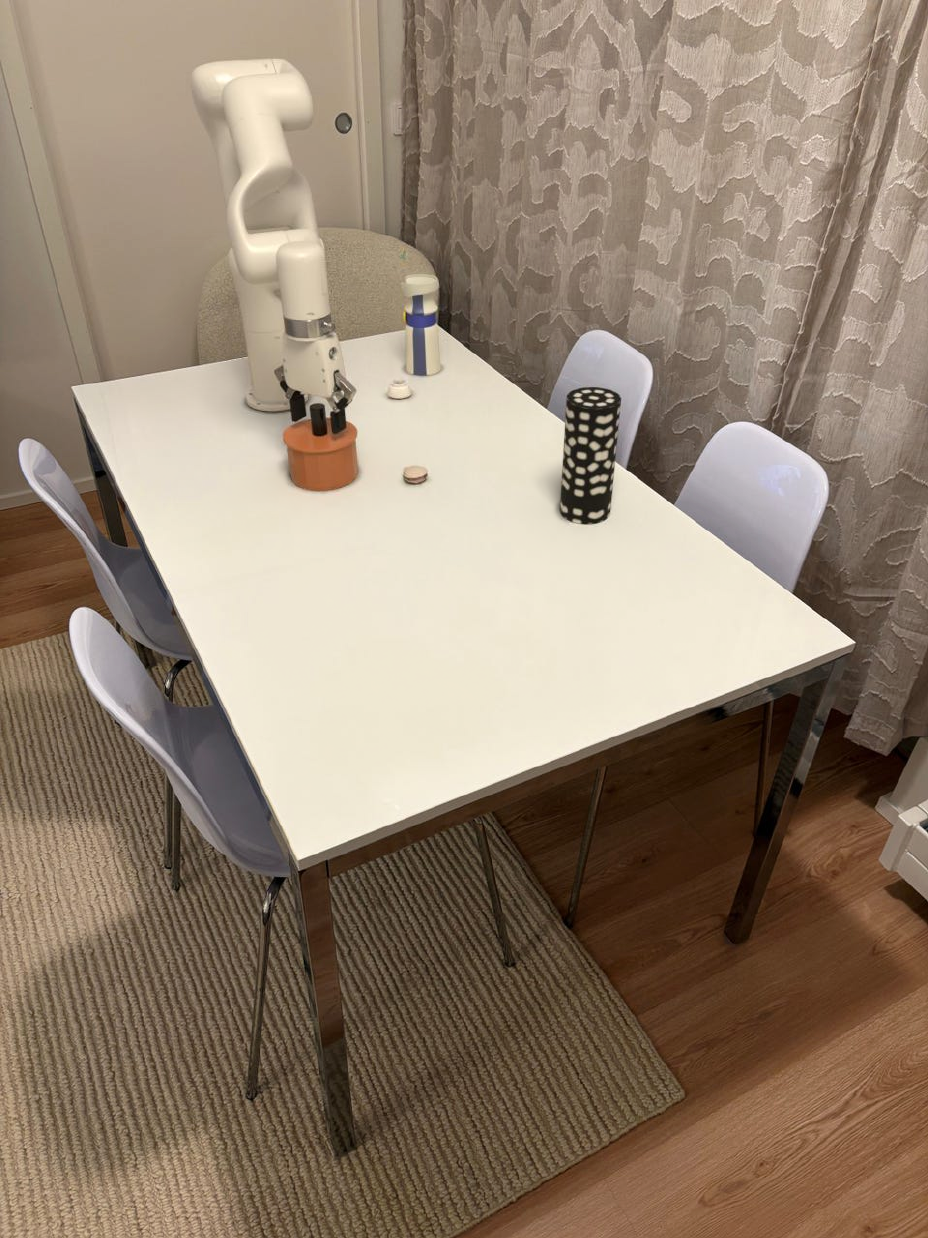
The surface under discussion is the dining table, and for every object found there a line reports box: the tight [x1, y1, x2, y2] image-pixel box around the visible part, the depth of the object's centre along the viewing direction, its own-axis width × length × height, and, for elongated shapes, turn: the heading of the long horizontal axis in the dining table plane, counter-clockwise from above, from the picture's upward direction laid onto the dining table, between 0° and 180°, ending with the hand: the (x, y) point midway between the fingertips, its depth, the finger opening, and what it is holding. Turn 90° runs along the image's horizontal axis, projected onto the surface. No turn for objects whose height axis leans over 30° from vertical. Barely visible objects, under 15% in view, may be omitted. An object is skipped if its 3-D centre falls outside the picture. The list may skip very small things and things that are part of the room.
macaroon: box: [402, 465, 429, 484], centre depth 164 cm, size 4×5×2 cm
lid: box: [282, 402, 358, 453], centre depth 160 cm, size 13×13×6 cm
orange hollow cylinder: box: [286, 439, 359, 492], centre depth 164 cm, size 12×12×8 cm
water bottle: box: [398, 247, 442, 377], centre depth 197 cm, size 8×9×25 cm
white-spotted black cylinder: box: [559, 386, 622, 525], centre depth 149 cm, size 8×8×20 cm
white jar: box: [386, 378, 413, 400], centre depth 193 cm, size 5×3×5 cm
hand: (319, 424), depth 160 cm, fingers open, 8 cm apart
